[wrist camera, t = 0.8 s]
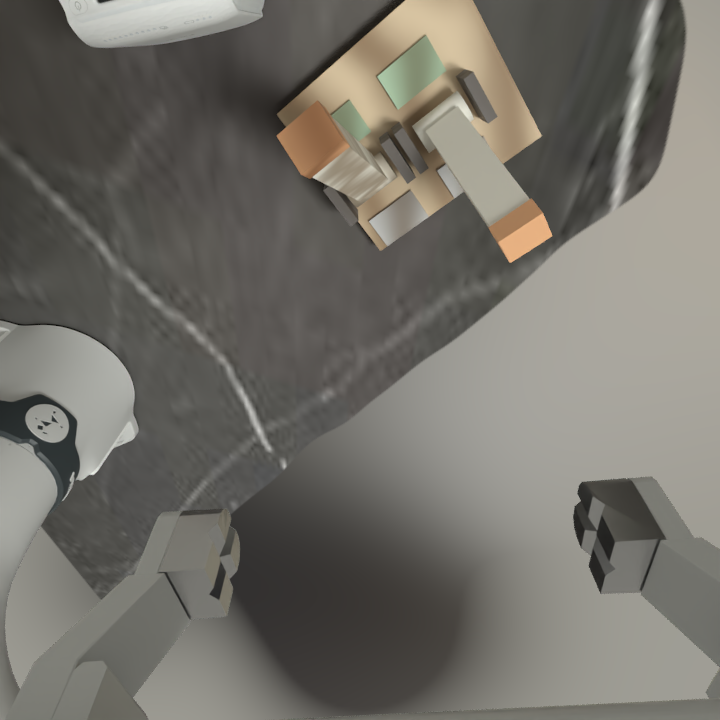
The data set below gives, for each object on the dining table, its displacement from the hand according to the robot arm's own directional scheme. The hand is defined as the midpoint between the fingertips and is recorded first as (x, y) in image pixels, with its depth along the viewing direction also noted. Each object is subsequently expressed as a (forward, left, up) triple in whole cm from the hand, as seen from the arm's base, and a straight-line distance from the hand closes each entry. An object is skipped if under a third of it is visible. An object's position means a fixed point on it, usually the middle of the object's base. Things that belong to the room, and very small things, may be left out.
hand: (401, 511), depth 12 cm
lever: (+7, 0, -35) cm, 36 cm away
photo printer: (-3, +16, -38) cm, 41 cm away
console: (+5, 0, -37) cm, 38 cm away
